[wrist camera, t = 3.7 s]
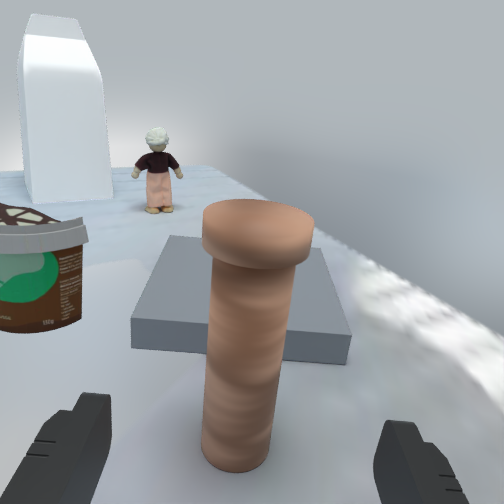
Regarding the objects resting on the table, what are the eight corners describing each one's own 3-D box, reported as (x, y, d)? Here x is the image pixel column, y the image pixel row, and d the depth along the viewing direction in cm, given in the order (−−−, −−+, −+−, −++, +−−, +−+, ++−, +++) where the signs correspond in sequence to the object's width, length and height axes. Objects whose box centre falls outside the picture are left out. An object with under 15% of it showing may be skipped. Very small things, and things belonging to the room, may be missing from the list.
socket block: (316, 270, 53) (320, 248, 52) (345, 364, 37) (351, 335, 35) (169, 258, 52) (170, 235, 51) (131, 348, 36) (130, 317, 35)
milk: (33, 204, 65) (10, 8, 55) (24, 183, 74) (4, 11, 64) (113, 198, 71) (107, 21, 61) (97, 180, 80) (89, 22, 70)
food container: (-66, 312, 38) (-91, 203, 34) (-1, 285, 43) (-17, 188, 39) (35, 360, 34) (19, 241, 30) (94, 323, 39) (87, 218, 35)
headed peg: (276, 414, 31) (307, 204, 24) (280, 484, 26) (322, 241, 19) (197, 408, 31) (208, 195, 24) (185, 478, 25) (196, 230, 19)
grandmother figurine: (172, 204, 71) (174, 125, 66) (184, 211, 69) (186, 129, 64) (128, 209, 67) (126, 125, 62) (138, 217, 64) (137, 130, 59)
